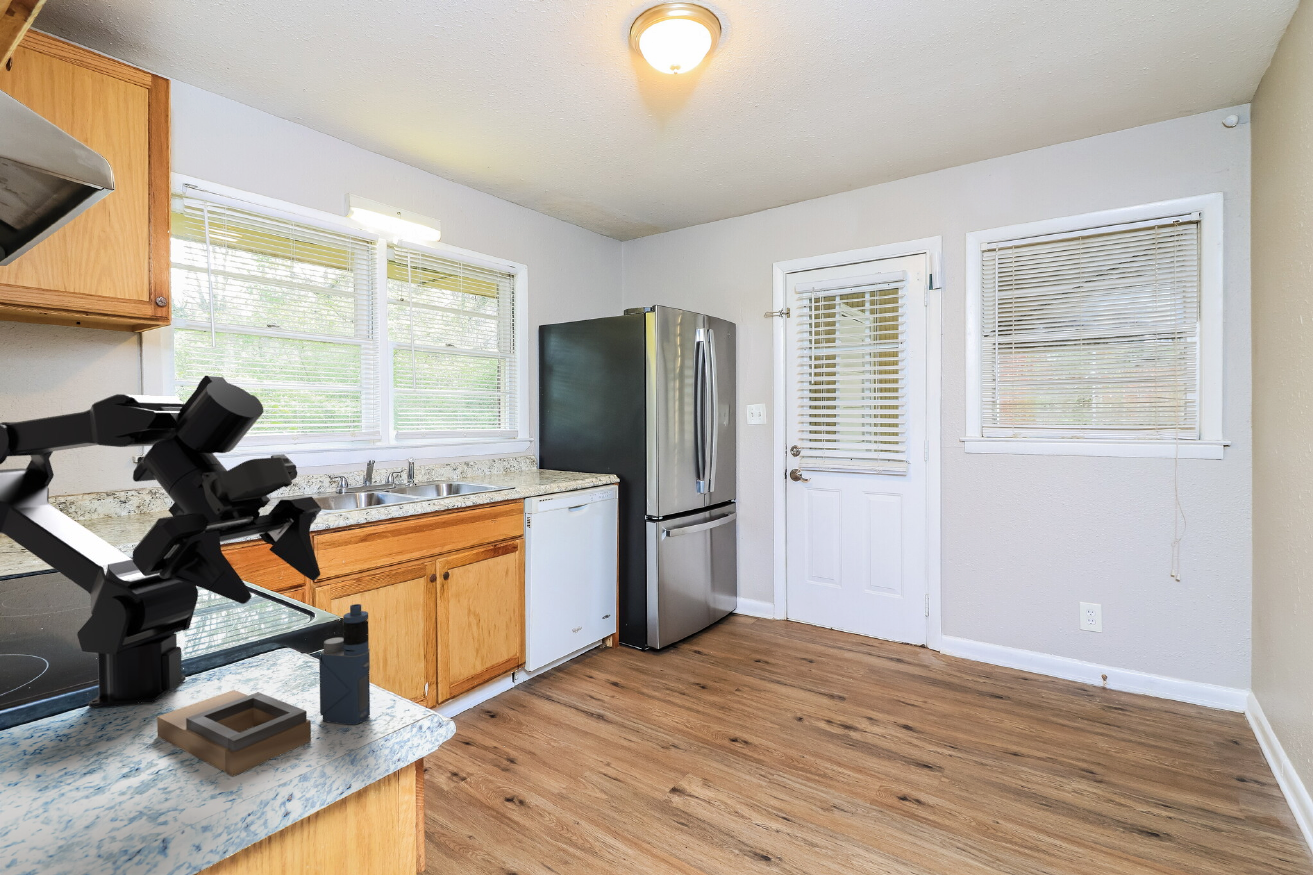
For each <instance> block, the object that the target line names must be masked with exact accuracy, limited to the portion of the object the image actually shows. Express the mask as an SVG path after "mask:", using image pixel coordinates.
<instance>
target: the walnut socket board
mask: <svg viewBox="0 0 1313 875" xmlns="http://www.w3.org/2000/svg"><path fill="white" fill-rule="evenodd" d="M156 720H157V721H156V723H157V725H156V726H157V737H158V738H159V739H161V740H163V741H165V742H167V743H168V744H171V745H172V746H175V747H177V748H178V749H180V750H182V751H184V752H186V753H187V754H189V755H191V756H194V757H195V758H196V759H198V760H201V761H203V762H205V763H206V764H209V765H210V766H212V767H214V768H216V769H218V770H219V771H221V770H223V771H224V772H223V771H222V772H223V773H225V772H227V773H226V774H227V775H229V776H231V777H235V776H237V775H239V774H242V773H244V772H246V771H248V770H251V769H253V768H255V767H257V766H260V765H261V763H262V764H264V763H266V762H268V761H270V760H272V759H271V758H273V759H274V757H275V756H277V757H280V756H281V755H283V754H286V753H287V752H291V751H292V750H294V749H296V747H297V748H298V747H301V746H303V745H305V744H308V743H309V742H312V725H311V724H312V723H311V722H312V721H311V720H310V719H308V717H307V710H305V709H303V708H301V707H298V706H296V705H292V704H290V703H287V702H284V701H282V700H280V699H277V698H274V697H272V696H270V695H266V694H264V693H262V692H259V691H257V692H255V693H251V694H250V695H248V694H246V693H242V692H241V691H238V690H236V689H233V690H229V691H226V692H224V693H221V694H218V695H216V696H213V697H210V698H207V699H204V700H201V701H198V702H195V703H192V704H189V705H186V706H184V707H180V708H178V709H175V710H172V711H169V712H166V713H163V714H161V715H157V717H156ZM280 754H281V755H280ZM275 758H276V757H275ZM269 759H270V760H269ZM267 760H268V761H267Z"/></svg>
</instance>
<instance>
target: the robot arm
mask: <svg viewBox="0 0 1313 875" xmlns="http://www.w3.org/2000/svg"><path fill="white" fill-rule="evenodd" d="M226 380H227V379H225V378H224V377H223V376H217V375H204V376H203V378H202V379H201V380H200V381H199V383H198V384H197V387H196V389H195V390H194V392H193V393H192V394H191V395H190V397H189V398H188V399H187V400H186V402H185V403H184V402H183V401H182V399H181V398H180V397H178V396H173V395H148V394H147V395H146V394H145V395H144V394H124V393H123V394H122V393H121V394H118V393H117V394H112V395H111V396H109V397H105V398H104V399H101V400H99V401H95V402H94V403H93V404H92V405H91V406H90V408H89V409H87V410H85V411H81V412H79V411H78V412H74V413H67V414H61V415H54V416H48V417H42V418H36V419H35V418H34V419H29V420H22V421H1V422H0V465H2V464H3V463H4V462H6V460H7V458H8V457H24V456H30V462H29V463H28V465H27V466H26V468H19V467H18V468H6V469H5V468H4V469H0V534H2V535H5V536H7V537H8V538H9V539H11V540H12V541H14V542H15V543H17V544H18V545H20V546H21V547H22V548H24V549H25V550H26V551H28V552H29V553H31V554H33V555H34V556H35V557H37V558H38V559H40V560H41V561H43V562H44V563H45V564H46V565H48V566H50V567H51V568H53V569H54V570H56V571H57V572H58V573H60V574H62V575H63V576H64V577H66V578H67V579H69V580H70V581H71V582H73V583H74V584H76V585H77V586H79V587H80V588H82V589H83V590H84V591H86V592H87V593H88V594H89V596H90V613H91V615H90V617H89V618H88V619H87V621H86V622H85V623H84V624H83V625H82V627H80V629H78V631H77V633H76V636H77V639H78V643H79V645H80V649H81V651H82V652H85V653H92V654H93V653H94V654H97V671H98V672H97V673H98V678H97V679H98V696H96V697H95V698H93V699H91V700H89V702H88V708H97V707H111V706H124V705H137V704H138V705H139V704H140V705H141V704H151V703H154V702H155V703H156V702H157V701H158V700H159V699H161V698H163V697H164V696H165V695H166V694H168V693H169V692H171V691H173V690H174V689H175V688H176V687H177V686H179V685H181V684H183V682H185V680H186V675H182V674H183V672H182V671H183V668H182V666H183V664H182V648H181V646H177V645H178V644H177V637H178V636H177V633H178V632H183V631H187V630H190V626H191V623H192V620H193V616H194V613H195V609H196V607H197V602H198V598H199V590H198V588H201V589H203V590H206V591H209V592H211V593H214V594H216V595H218V596H222V597H224V598H226V599H229V600H231V601H233V602H236V603H239V604H242V605H244V604H247V603H248V602H249V601H250V600H251V599H252V594H251V592H250V591H249V589H248V587H247V585H246V583H245V582H244V580H242V578H241V576H240V575H239V574H238V572H237V571H236V570H235V569H234V567H233V566H232V564H231V563H230V562H229V561H228V559H227V558H226V556H225V555H224V553H223V550H222V547H221V543H225V542H230V541H235V540H238V539H243V538H244V539H245V538H248V537H253V536H258V535H259V537H260V538H261V540H262V541H263V542H264V543H266V544H268V545H271V547H270V548H269V549H268V550H269V551H270V552H272V553H273V554H274V555H276V556H277V557H278V558H280V559H281V560H283V561H284V562H285V563H287V565H289V566H290V567H292V568H293V569H294V570H296V571H297V572H298V573H300V574H301V575H303V576H305V578H307V579H309V580H311V581H313V582H314V581H316V580H318V578H319V577H320V576H321V571H320V568H319V565H318V560H317V557H316V554H315V551H314V547H313V543H312V539H311V534H310V532H311V531H310V530H311V526H312V524H314V522H315V521H316V520H317V517H318V515H319V514H320V513H321V511H323V510H322V507H321V506H320V505H319V504H318V502H317V501H316V500H315V498H314V497H313V496H308V495H307V496H302V495H301V496H296V497H289V498H283V499H282V498H281V499H280V500H278V502H277V503H276V504H275V506H274V507H273V508H272V509H271V510H270V511H269V513H268V514H262V515H261V512H260V510H261V509H262V508H266V506H267V505H268V504H269V502H270V501H271V499H270V497H268V496H269V495H271V494H273V493H274V492H276V491H279V490H280V489H282V488H288V487H289V486H291V485H292V484H293V481H294V480H296V479H297V476H298V471H297V465H296V463H294V462H293V461H292V459H290V458H289V457H288V456H287V455H286V454H282V453H281V454H272V455H270V457H264V458H263V457H261V458H252V459H248V460H246V461H244V462H241V463H239V464H237V465H236V466H234V467H232V468H230V469H229V470H227V469H226V467H225V466H224V465H223V464H222V463H221V461H220V460H219V459H218V458H217V456H215V454H226V453H230V452H231V451H232V450H234V449H235V448H236V446H237V445H238V444H239V443H240V441H242V439H243V438H244V436H245V435H246V434H247V433H248V432H249V430H250V429H251V428H252V427H253V426H254V424H255V423H256V422H257V421H258V420H259V419H260V418H261V416H262V415H263V413H264V406H263V404H262V402H261V401H260V400H259V399H258V397H257V396H256V395H254V394H251V393H249V392H248V391H246V390H245V389H243V388H241V387H240V386H237V385H235V384H232V383H230V382H228V381H226ZM94 446H104V447H116V448H128V447H129V448H131V447H134V448H135V447H150V449H149V450H148V451H147V452H146V454H145V455H144V456H139V457H138V458H137V459H136V460H137V463H136V467H135V469H134V470H133V475H132V480H133V481H134V483H135V482H148V481H149V482H150V481H157V483H158V484H159V485H160V486H161V487H162V489H163V490H164V492H166V494H167V495H168V497H169V498H170V499H171V500H172V501H173V503H172V505H171V506H170V507H169V508H168V512H169V513H170V514H171V515H170V516H166V517H159V518H158V519H157V520H156V521H155V523H154V524H153V525H152V526H151V527H150V528H149V530H148V531H147V533H146V534H145V535H144V536H143V537H142V539H141V540H140V541H139V542H138V543H137V545H136V546H135V547H134V549H133V551H132V558H130V557H129V556H128V555H126V554H125V553H123V552H122V551H120V550H119V549H117V548H116V547H115V546H113V545H112V544H109V543H108V542H107V541H106V540H104V539H102V538H100V537H99V536H97V535H96V533H94V532H92V531H91V530H89V529H88V528H87V527H84V526H83V525H81V524H80V523H78V522H77V521H76V520H74V519H72V518H71V517H69V516H67V515H66V514H65V513H63V512H62V511H60V510H59V509H57V508H56V507H54V506H53V505H51V504H50V503H49V502H50V500H49V499H50V498H49V497H50V496H49V495H50V488H49V485H50V483H51V481H52V480H53V479H54V476H55V475H54V471H53V467H52V464H51V461H50V457H51V456H52V454H53V452H58V451H64V450H72V449H78V448H86V447H94Z"/></svg>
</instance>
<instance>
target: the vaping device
mask: <svg viewBox="0 0 1313 875" xmlns="http://www.w3.org/2000/svg"><path fill="white" fill-rule="evenodd" d="M342 617H343V618H342V619H343V637H342V636H341V637H339V636H338V637H331V638H329V639H325V640H324V641H323V649H322V651H321V652H320V656H319V662H318V663H319V670H318V671H319V712H320V716H322V721H323V722H325V723H333V724H342V725H358V724H360V723H363V722H364V721H366V720H367V719H368V718H369V717H370V715H371V711H370V710H371V707H370V706H371V705H370V703H371V701H370V699H371V696H370V694H371V693H370V691H371V690H370V688H371V687H370V670H371V669H370V668H371V664H370V660H371V658H370V650H371V649H370V648H369V647H370V643H369V638H370V637H369V634H370V633H369V612H368V611H366V610H362V604H359V603H355V604H351V605H350V606H349V612H347V613H345V614H343V616H342Z"/></svg>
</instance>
